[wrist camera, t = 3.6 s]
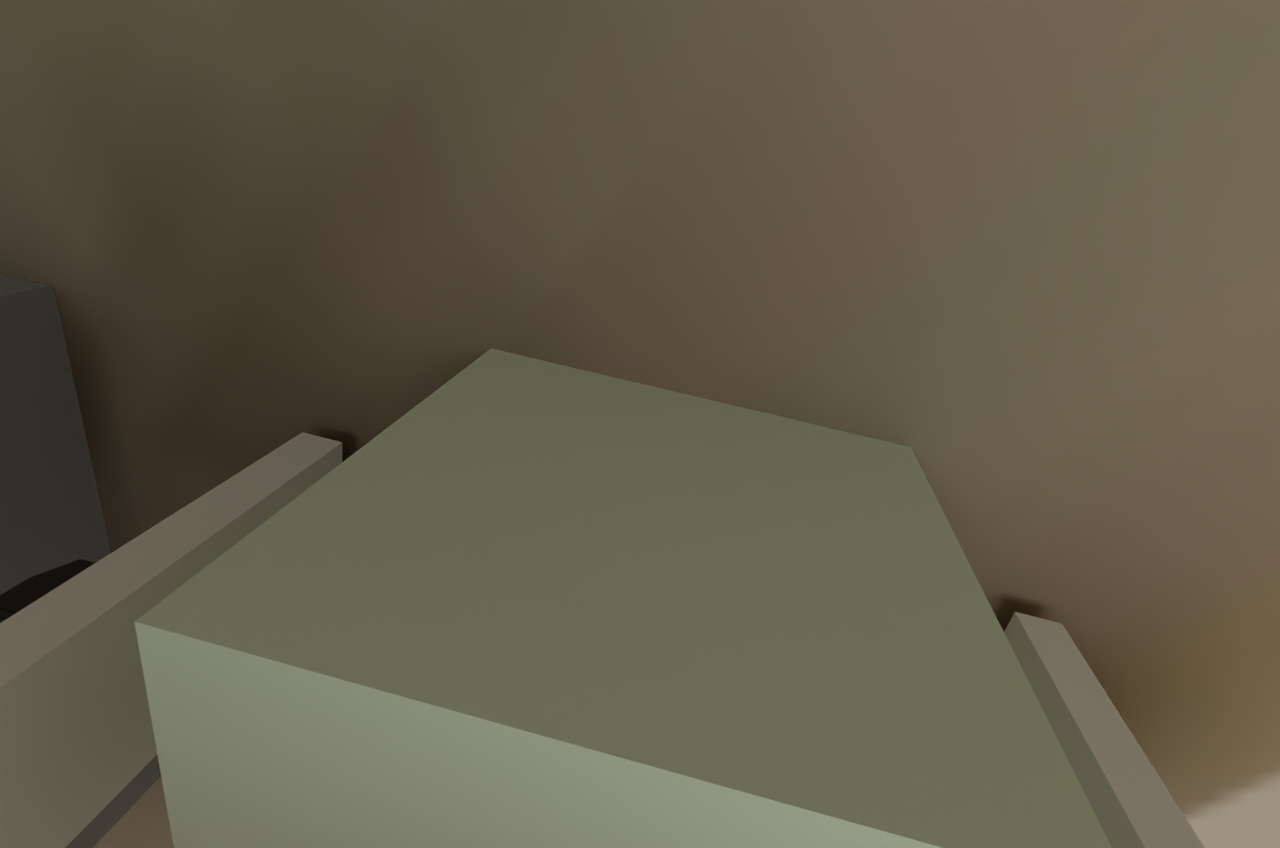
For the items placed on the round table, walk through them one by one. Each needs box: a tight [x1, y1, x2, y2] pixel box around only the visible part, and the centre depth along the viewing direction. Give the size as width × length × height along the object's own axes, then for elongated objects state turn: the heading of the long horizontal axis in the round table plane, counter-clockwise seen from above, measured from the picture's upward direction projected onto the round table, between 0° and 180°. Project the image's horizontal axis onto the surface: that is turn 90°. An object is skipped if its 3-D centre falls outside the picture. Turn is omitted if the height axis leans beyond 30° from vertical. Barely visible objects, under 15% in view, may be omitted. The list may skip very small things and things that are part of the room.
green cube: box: [135, 348, 1112, 848], centre depth 9 cm, size 7×7×7 cm
